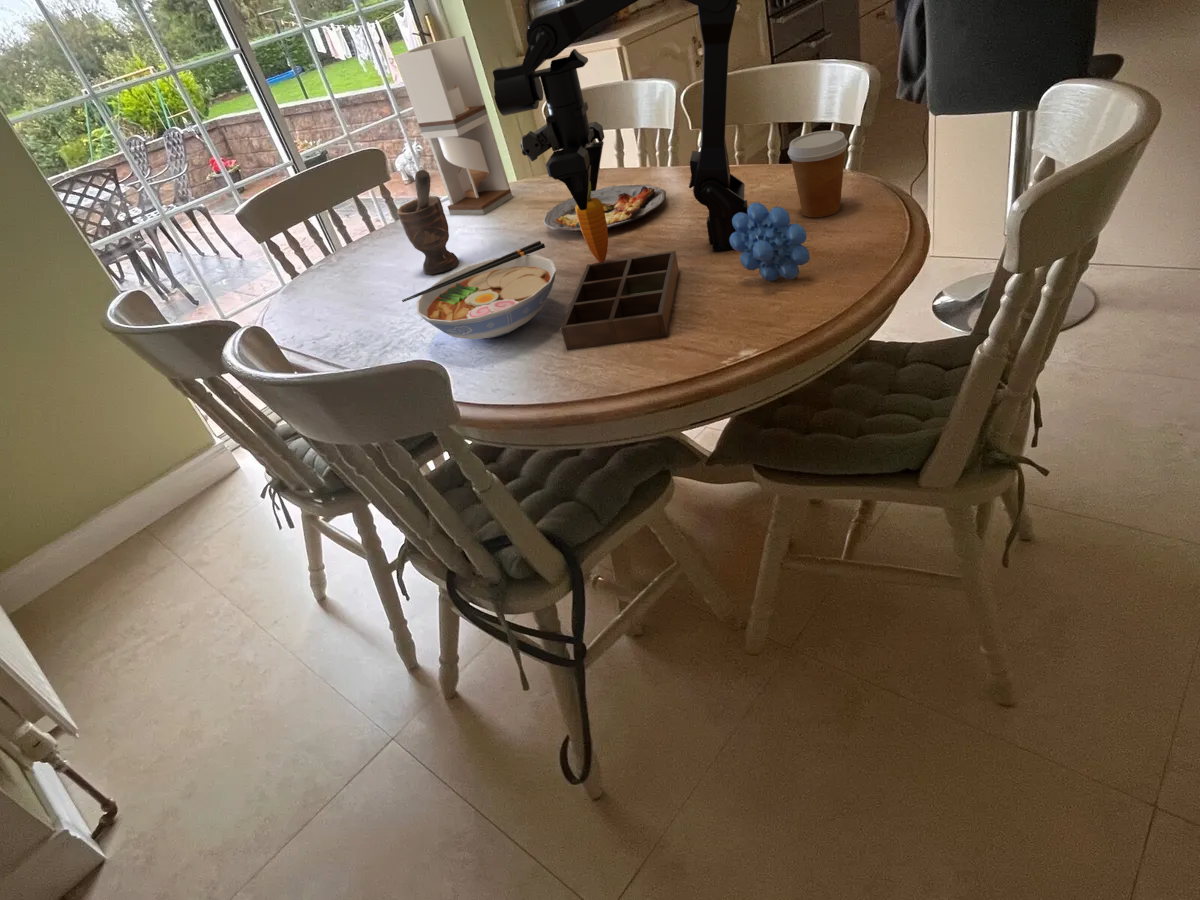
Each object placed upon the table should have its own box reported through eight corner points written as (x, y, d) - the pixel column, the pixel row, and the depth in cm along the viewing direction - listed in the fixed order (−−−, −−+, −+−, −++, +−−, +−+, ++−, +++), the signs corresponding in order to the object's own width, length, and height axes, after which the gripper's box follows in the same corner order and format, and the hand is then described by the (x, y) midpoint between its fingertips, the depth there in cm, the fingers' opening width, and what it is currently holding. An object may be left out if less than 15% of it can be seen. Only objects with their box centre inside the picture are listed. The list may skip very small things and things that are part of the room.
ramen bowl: (444, 384, 109) (424, 335, 104) (413, 332, 127) (395, 288, 122) (596, 321, 114) (583, 272, 110) (545, 279, 132) (532, 235, 128)
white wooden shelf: (450, 214, 179) (394, 56, 159) (478, 197, 185) (428, 43, 165) (484, 214, 173) (430, 49, 153) (512, 197, 179) (464, 36, 159)
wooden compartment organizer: (679, 271, 122) (675, 250, 120) (666, 337, 105) (662, 314, 103) (591, 284, 126) (586, 264, 124) (566, 349, 109) (560, 328, 107)
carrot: (613, 266, 130) (593, 181, 121) (586, 270, 131) (564, 186, 123) (618, 255, 134) (599, 171, 125) (591, 259, 135) (571, 176, 127)
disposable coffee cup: (818, 225, 124) (813, 152, 117) (781, 215, 131) (775, 145, 124) (862, 205, 126) (860, 132, 119) (823, 196, 134) (819, 127, 127)
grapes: (725, 294, 111) (714, 216, 105) (740, 273, 116) (730, 198, 109) (803, 294, 106) (797, 212, 99) (815, 272, 110) (810, 193, 103)
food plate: (686, 192, 152) (683, 175, 150) (631, 240, 138) (627, 222, 136) (586, 196, 166) (583, 180, 164) (526, 240, 152) (521, 223, 150)
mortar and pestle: (481, 258, 149) (447, 157, 138) (455, 278, 144) (417, 174, 132) (439, 258, 155) (403, 161, 144) (412, 277, 150) (373, 178, 138)
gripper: (531, 98, 126) (555, 189, 135) (502, 128, 112) (531, 228, 121) (594, 84, 123) (614, 178, 132) (572, 114, 109) (597, 217, 118)
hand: (588, 199), depth 126 cm, fingers open, 9 cm apart
